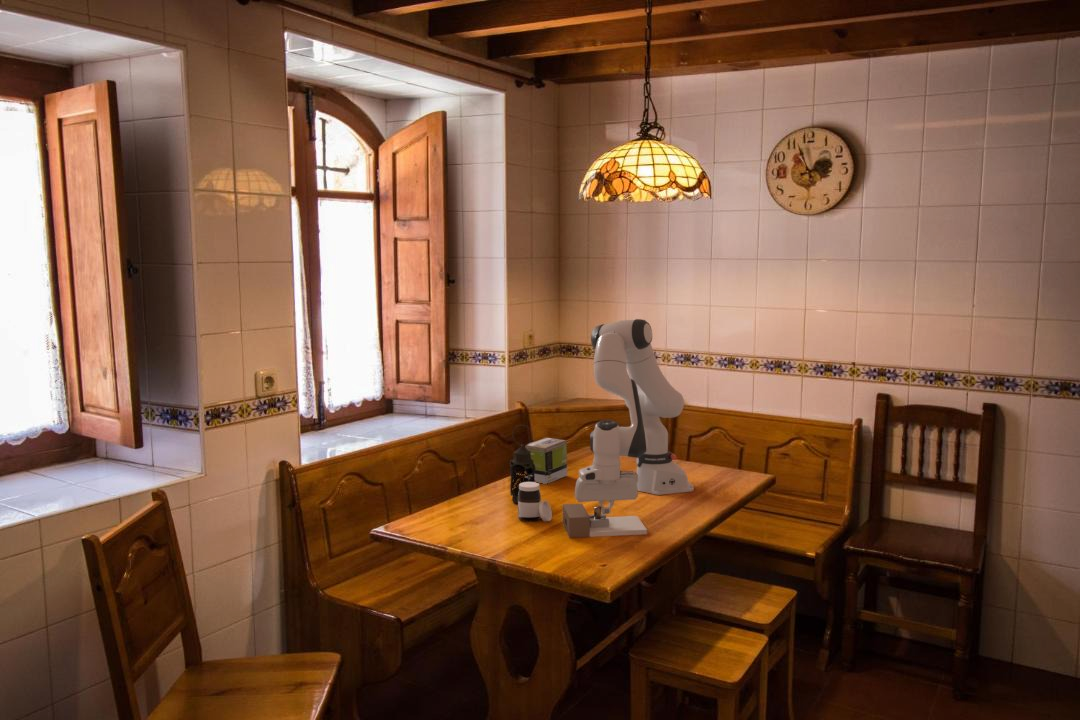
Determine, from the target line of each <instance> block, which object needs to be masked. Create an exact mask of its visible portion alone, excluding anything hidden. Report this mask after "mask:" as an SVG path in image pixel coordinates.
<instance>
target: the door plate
mask: <svg viewBox="0 0 1080 720" xmlns="http://www.w3.org/2000/svg"><path fill="white" fill-rule="evenodd" d="M602 517H603V518H604V519H590V518H594V513H592V514H589V513H588V512H587V509H586V507H585V506H584V504H583V503H566V504H565V503H564V504H563V503H562V525H563V528H564V530H565V532H566V534H567V535H568V536H567V537H568V538H569V539H570V538H571V539H572V538H575V539H576V538H592V537H593V538H597V537H615V536H616V537H617V536H638V535H639V536H640V535H641V536H642V535H647V534H648V529H647V527H645V525H644V523H643V522H642V521H641V520H640V518H639V517H638V515H629V516H628V515H627V516H607V514H602V513H601V518H602Z"/></svg>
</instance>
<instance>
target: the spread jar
mask: <svg viewBox="0 0 1080 720" xmlns="http://www.w3.org/2000/svg"><path fill="white" fill-rule="evenodd" d="M518 487H519V489H520V490H519V492H518V504H517V516H518V519H519V520H521V521H523V520H524V521H523V522H535V520H536V521H538V520H540V519H542V521H543V522H546V523H547V522H551V520H552V519H553V512H552V507H551V505H550V503H549V502H548V501H547V500H542V497H541V491H540V483H536V482H523V483H520V484H519V486H518Z"/></svg>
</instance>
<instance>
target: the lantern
mask: <svg viewBox="0 0 1080 720" xmlns="http://www.w3.org/2000/svg"><path fill="white" fill-rule="evenodd" d="M519 426H522V427H526V428H528V429H529V431H530V433H531V435H533V431H532V429H531V428H530V427H528V426H527V425H525V424H519V425H516V426H515V427H514V428H513V430H512V439H513V441H514V443H516V445H519V446H520V447H519V448H518V449H516V450H515V451H514V452H513V454H514V456H513V459H510V460H509V468H510V488H509V491H510V493H509V494H510V496H511V501H513V502H514V503H513V504H515V503H518V492H519V490H520V489H519V484H520V483H523V482H535V470H536V468H535V464H534V463H533V461H534V460H532V459H531V454H530V453H531V451H529V450H527V449H526V448H525V445H528V444H530V443H532V440H533V437H531V439H530V441H529V442H528V443H526V444H523V443H522V444H520V443H518V442H517V441H516V440H515V438H514V432H515V430H516V428H518V427H519ZM526 465H527V466H526ZM526 469H527V470H526ZM526 471H527V473H526ZM532 471H533V473H532ZM529 475H532V477H531V476H529ZM526 476H528V478H526ZM529 478H530V479H529ZM528 479H529V480H528Z"/></svg>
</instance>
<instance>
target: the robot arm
mask: <svg viewBox="0 0 1080 720" xmlns="http://www.w3.org/2000/svg"><path fill="white" fill-rule="evenodd" d="M652 341H653V330H652V326H651V324H650V323H649V322H648V321H647V320H646V319H641V318H635V319H628V320H627V319H624V320H618V321H615V322H610V323H605V324H604V323H603V324H600V325H597V326H595V327H594V328H593V329H592V332H591V335H590V343H591V346H592V348H593V350H594V356H593V378H594V381H595V383H596V385H598V386H599V387H600V388H601V389H603V390H605V392H608V393H611V394H613V395H615V396H617V397H618V396H619V397H620V398H622V399H623V400H624V403H625V406H626V407H627V408H628V412H629V417H630V418H629V419H630V426H619V424H618V422H617V421H614V420H610V419H607V420H605V419H603V420H600V421H598V422H596V423H595V425H594V430H592V431H591V432H590V434H589V436H590V437H589V438H590V440H589V441H590V444H589V445H590V446H589V449H590V451H591V453H593V460H592V464H590V465H588V466H586V467H583V468H579V470H578V476H579V477H578V478H577V480H576V481H575V488H574V498H575V499H576V502H578V503H583V502H585V503H586V502H588V503H589V502H598V504H599V506H601V507H602V512H601V514H606V515H610V514H611V512H612V511H611V509H613V506H614V505H615V501H628V500H629V501H632V500H633V501H634V500H636V499H638V497H639V493H638V492H642V493H648V494H652V495H656V496H660V495H671V494H681V493H690V492H694V491H695V489H694V484H692V483H691V482H690V481H689V480H688V475H687V472H686V470H684V469H683V468H682V467H681V466H680V465H678V464H677V463H676V462H674V461H675V460H676V459H677V455H676V454H675V453H673V452H671V451H669V450H668V448H669V447H668V445H669V432H668V430H667V428H666V427H665V425H664V424H663V422H662V421H661V419H660V418H664V419H665V418H666V419H667V418H669V419H670V418H676V417H678V416H679V415H681V413H682V412H683V409H684V406H685V401H684V400H685V399H684V396H683V395H682V393H680V392H679V391H678V390H677V389H676V388H674V387H673V386H672V385H671V383H670V382H669V381H668V379H667V378H666V377H665V375H664V374H663V372H662V371H661V369H660V366H659V364H658V360H657V359H656V356H655V352H654V349H653V347H652V344H651V343H652ZM620 457H628V458H636V461H635V462H636V472H635V471H634V470H628V471H627V470H621V459H620ZM606 501H607V502H608V503H609V504H608V506H604V504H605V502H606Z"/></svg>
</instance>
